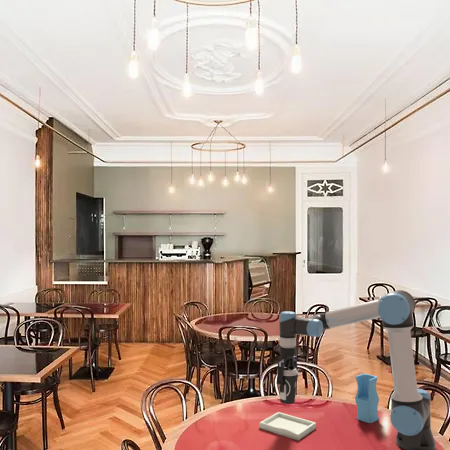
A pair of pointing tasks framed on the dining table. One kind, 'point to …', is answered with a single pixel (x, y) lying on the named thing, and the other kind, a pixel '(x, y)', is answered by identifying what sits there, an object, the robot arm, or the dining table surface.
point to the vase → (367, 398)
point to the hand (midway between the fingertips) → (287, 396)
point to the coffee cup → (290, 385)
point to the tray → (288, 425)
